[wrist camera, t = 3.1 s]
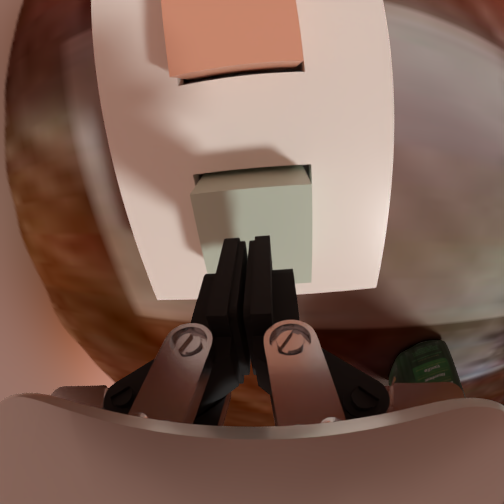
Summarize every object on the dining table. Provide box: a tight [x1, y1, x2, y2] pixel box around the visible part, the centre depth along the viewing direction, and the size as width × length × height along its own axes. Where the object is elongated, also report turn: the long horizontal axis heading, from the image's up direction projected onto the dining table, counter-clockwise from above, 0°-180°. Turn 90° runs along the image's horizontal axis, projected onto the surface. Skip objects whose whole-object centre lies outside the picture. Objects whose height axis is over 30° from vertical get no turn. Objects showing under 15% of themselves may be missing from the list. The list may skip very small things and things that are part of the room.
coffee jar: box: [389, 340, 466, 398], centre depth 21 cm, size 10×8×19 cm
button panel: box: [91, 0, 394, 300], centre depth 13 cm, size 14×20×5 cm
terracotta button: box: [161, 0, 304, 80], centre depth 8 cm, size 5×5×3 cm
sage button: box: [190, 165, 312, 284], centre depth 14 cm, size 5×5×3 cm
